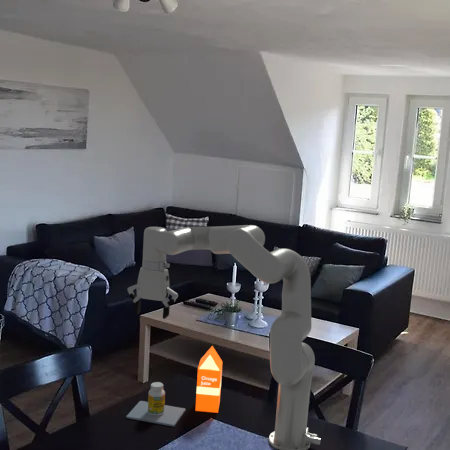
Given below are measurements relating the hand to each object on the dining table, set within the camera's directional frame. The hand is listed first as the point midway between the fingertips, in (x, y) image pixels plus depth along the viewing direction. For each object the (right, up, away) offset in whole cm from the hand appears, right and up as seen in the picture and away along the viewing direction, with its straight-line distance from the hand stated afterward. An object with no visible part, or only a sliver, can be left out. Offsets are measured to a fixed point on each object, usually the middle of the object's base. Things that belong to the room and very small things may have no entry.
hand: (151, 315), depth 209 cm
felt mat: (+2, -32, -3) cm, 32 cm away
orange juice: (+18, -32, +6) cm, 37 cm away
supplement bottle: (+2, -31, -3) cm, 31 cm away
